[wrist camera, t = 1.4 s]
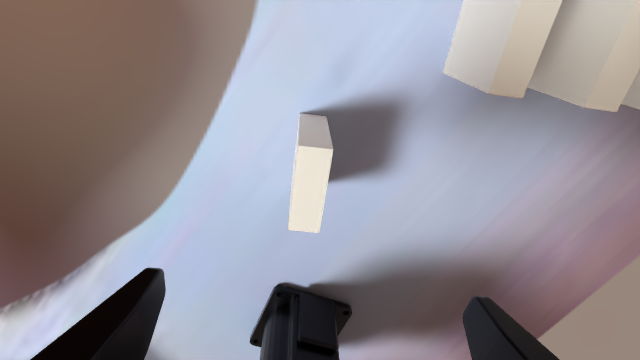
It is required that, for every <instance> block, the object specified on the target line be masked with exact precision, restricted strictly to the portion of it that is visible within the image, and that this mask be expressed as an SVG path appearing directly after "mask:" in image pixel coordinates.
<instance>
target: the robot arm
mask: <svg viewBox="0 0 640 360" xmlns="http://www.w3.org/2000/svg"><path fill="white" fill-rule="evenodd" d="M165 291H166V289H165V279H164V271H163V270H162V269H160V268H146V269H144V270H143V271H142V272H140V273H139V274H138V275H137V276H135V277H134V278H133V279H132V280H130V281H129V282H128V283H127V284H125V285H124V286H123V287H122V288H120V289H119V290H118V291H116V292H115V293H114V294H113V295H111V296H110V297H109V298H108V299H106V300H105V301H104V302H103V303H101V304H100V305H99V306H98V307H96V308H95V309H94V310H92V311H91V312H90V313H89V314H87V315H86V316H85V317H84V318H82V319H81V320H80V321H79V322H77V323H76V324H75V325H73V326H72V327H71V328H70V329H68V330H67V331H66V332H65V333H63V334H62V335H61V336H60V337H58V338H57V339H56V340H55V341H53V342H52V343H51V344H49V345H48V346H47V347H46V348H44V349H43V350H42V351H41V352H39V353H38V354H37V355H36V356H34V357H33V358H32V359H31V360H144V359H145V356H146V354H147V351H148V348H149V345H150V342H151V339H152V335H153V332H154V329H155V326H156V323H157V320H158V316H159V313H160V310H161V307H162V304H163V300H164V297H165ZM278 292H282V293H278ZM351 314H352V309H351V306H350V305H347V304H344V303H340V302H337V301H333V300H330V299H326V298H323V297H320V296H316V295H313V294H309V293H306V292H302V291H299V290H295V289H292V288H288V287H285V286H280V285H279V286H276V287H274V289H273V291H272V293H271V295H270V297H269V299H268V301H267V303H266V305H265V307H264V309H263V311H262V313H261V316H260V318H259V320H258V322H257V324H256V326H255V328H254V330H253V332H252V334H251V337H250V343H251V344H252V345H254V346H258V347H261V353H260V360H339V351H338V347H339V346H338V335H339V333H340V332H341V330H342V329H343V327H344V325H345V324H346V322H347V321H348V319H349V318H350V316H351ZM463 323H464V328H465V332H466V336H467V340H468V345H469V349H470V353H471V357H472V360H559V359H558V358H557V357H556V356H555V355H554V354H553V353H551V352H550V351H549V350H548V349H547V348H546V347H545V346H543V345H542V344H541V343H540V342H539V341H538V340H537V339H536V338H534V337H533V336H532V335H531V334H530V333H529V332H528V331H526V330H525V329H524V328H523V327H522V326H521V325H520V324H518V323H517V322H516V321H515V320H514V319H513V318H512V317H510V316H509V315H508V314H507V313H506V312H505V311H504V310H502V309H501V308H500V307H499V306H498V305H497V304H496V303H494V302H493V301H492V300H491V299H490V298H488V297H484V296H474V297H472V299H471V301H470V302H469V304H468V306H467V308H466V309H465V311H464V313H463Z"/></svg>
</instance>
